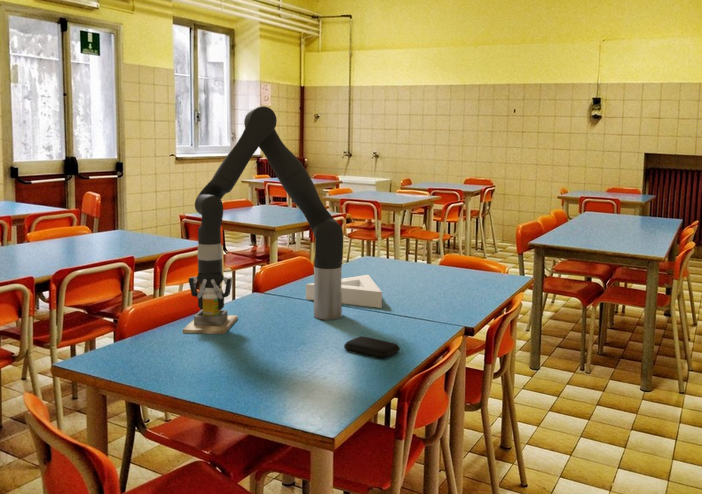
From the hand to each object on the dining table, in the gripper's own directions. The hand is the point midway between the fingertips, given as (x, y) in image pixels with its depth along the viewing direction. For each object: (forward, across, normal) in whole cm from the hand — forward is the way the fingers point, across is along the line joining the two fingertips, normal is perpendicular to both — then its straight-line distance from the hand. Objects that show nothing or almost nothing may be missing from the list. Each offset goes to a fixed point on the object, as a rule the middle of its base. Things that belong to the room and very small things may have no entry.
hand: (211, 309), depth 221 cm
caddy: (+5, 0, 0) cm, 5 cm away
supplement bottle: (+3, 0, 0) cm, 3 cm away
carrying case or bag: (+6, -52, +20) cm, 57 cm away
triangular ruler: (+6, -44, -46) cm, 64 cm away
